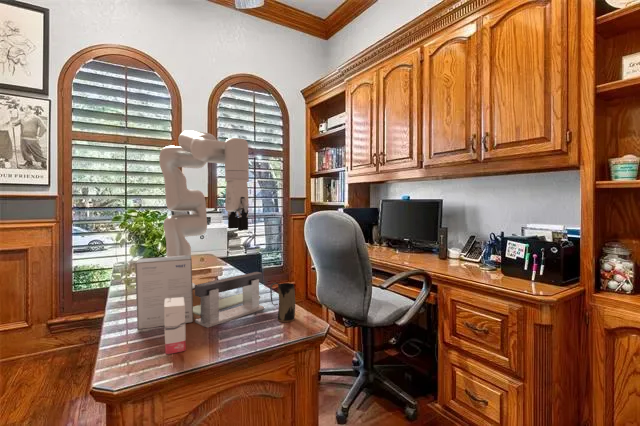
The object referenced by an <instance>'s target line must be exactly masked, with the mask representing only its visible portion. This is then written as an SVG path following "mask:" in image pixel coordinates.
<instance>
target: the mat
mask: <svg viewBox="0 0 640 426" xmlns="http://www.w3.org/2000/svg"><path fill="white" fill-rule="evenodd" d="M260 298H261V295H259V299H260ZM239 303H240V304H243V292H242V293H239V294H236V295H232V296H227V297H224V298H221V299H220V298H219V310H223V309H225V308H229V307H232V306H235V305H236V306H237V305H239ZM193 315H197V316H201V304H197V305H195V306H194V305H193Z"/></svg>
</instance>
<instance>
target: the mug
mask: <svg viewBox="0 0 640 426" xmlns="http://www.w3.org/2000/svg"><path fill="white" fill-rule="evenodd" d="M273 285H277V289H278V303H275V304H274V303H273V292H272V291H273V288H272V287H273ZM269 289H270V290H269V292H270V300H271V304H272V306H275V307H276V306H278V308H277V309H278V311H277V321H278V322H280V323H293V322H295V319H296V317H295V316H296V293H295V292H296V291H295V284H294V283H291V282H289V283H288V282H285V283H284V282H283V283H278V282H273V283H271V284H270V286H269Z"/></svg>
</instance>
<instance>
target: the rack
mask: <svg viewBox="0 0 640 426" xmlns="http://www.w3.org/2000/svg"><path fill="white" fill-rule="evenodd" d="M242 293H243V303H242V304H241V305H239V306H236V307H233V308H229V309H225V310H222V311H220V309H219V300H220V298H219V297H220V296H219V295H220V294H219V289H213V290H209V295H208V296H204V297H200V305H201V315H200V318H196V319H194V323H196V324H197V325H200V326H202V327H205V328H207V329H208V328H211V327H214V326H217V325H220V324H223V323H226V322H229V321H232V320H235V319H239V318H241V317H245V316H246V315H251V314H253V313H255V312H260V311H262V310H264V309H265V306H264V305H261V304H260V298H259V296H260V283H259V279H256V280H251V285H248V286H244V287H242Z"/></svg>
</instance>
